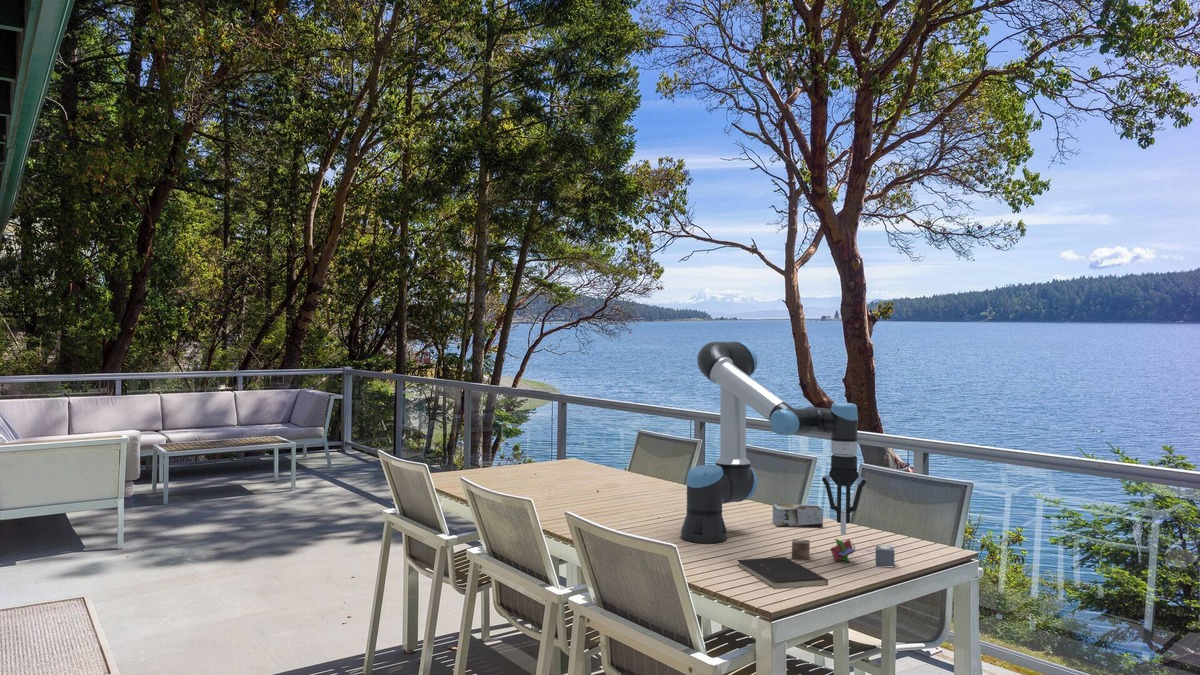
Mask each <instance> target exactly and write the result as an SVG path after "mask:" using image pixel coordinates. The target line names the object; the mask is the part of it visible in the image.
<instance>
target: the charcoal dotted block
mask: <svg viewBox="0 0 1200 675" xmlns="http://www.w3.org/2000/svg"><path fill="white" fill-rule="evenodd" d="M874 562H876V563H875V566H876V567H879V566H893V567H894V568H895V548H894V546H888V545H887V546H886V545H884V546H883V545H875V560H874Z"/></svg>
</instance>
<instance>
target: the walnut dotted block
mask: <svg viewBox="0 0 1200 675" xmlns="http://www.w3.org/2000/svg"><path fill="white" fill-rule="evenodd" d="M791 541H792V542H791V560H799V561H810V554H811V552H810V551H811V550H810V546H811V545H810V544H811V540H810V539H798V538H792V540H791Z"/></svg>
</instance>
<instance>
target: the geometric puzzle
mask: <svg viewBox="0 0 1200 675" xmlns="http://www.w3.org/2000/svg"><path fill="white" fill-rule="evenodd" d="M833 540H834V541H833V542H836V545H835V546H832V547H830V553H831V554H832V558H833V560H834V562H839V561H840V560H844V561H845V562H846V563H849V564H850V562H851V561H850V560H849V557H848V556H850V555H853V554H854V553H856V552H857V549H856V545H855V544H854V542H852V541H851V540H850V539H848V538H847V540H845V541H841V539H840V540H839V539H838V538H834V539H833ZM852 557H853V556H851V557H850V559H852Z"/></svg>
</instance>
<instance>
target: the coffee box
mask: <svg viewBox="0 0 1200 675" xmlns="http://www.w3.org/2000/svg"><path fill="white" fill-rule="evenodd" d="M823 519H824V516H823V509H822V508H821V507H820V506H819V505H818V504H782V503H781V504H778V503H777V504H776V503H775V504H774V503H773V504H772V522H773V523H774V524H775V525H776V526H777V527H798V528H799V527H803V528H804V527H805V528H823V526H824V525H823V524H824V523H823V522H824V520H823Z"/></svg>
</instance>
